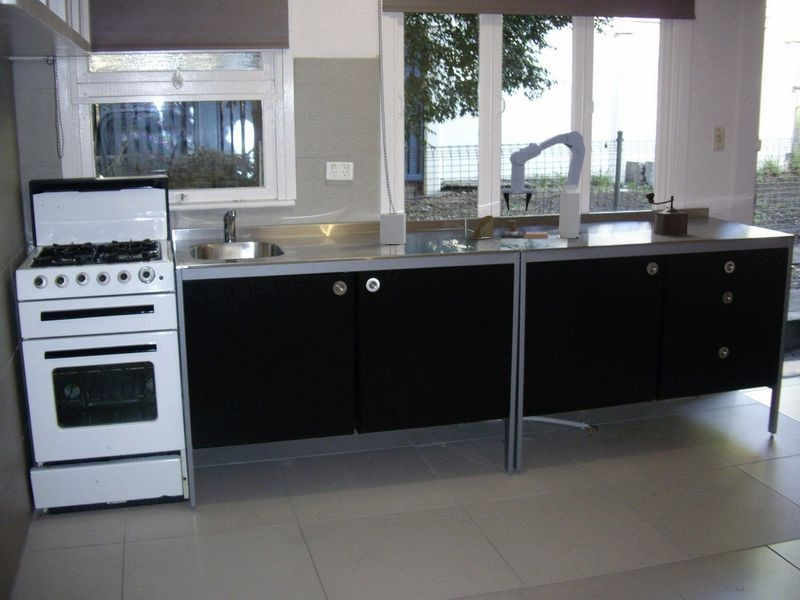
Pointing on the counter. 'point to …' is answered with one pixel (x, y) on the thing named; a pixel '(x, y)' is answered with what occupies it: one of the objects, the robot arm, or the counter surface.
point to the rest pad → (520, 234)
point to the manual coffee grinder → (668, 218)
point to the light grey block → (392, 228)
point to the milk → (569, 212)
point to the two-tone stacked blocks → (512, 228)
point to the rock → (484, 228)
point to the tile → (536, 234)
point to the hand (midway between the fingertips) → (517, 210)
